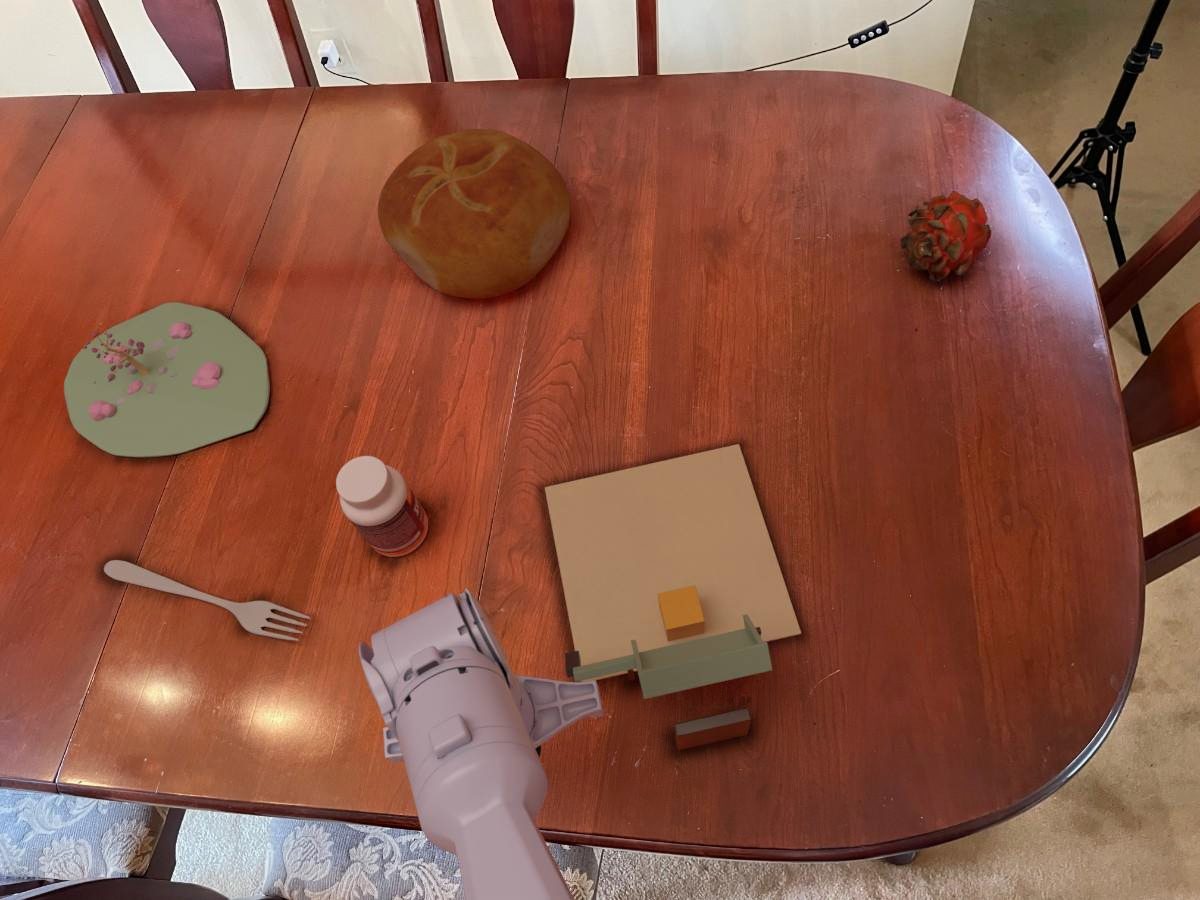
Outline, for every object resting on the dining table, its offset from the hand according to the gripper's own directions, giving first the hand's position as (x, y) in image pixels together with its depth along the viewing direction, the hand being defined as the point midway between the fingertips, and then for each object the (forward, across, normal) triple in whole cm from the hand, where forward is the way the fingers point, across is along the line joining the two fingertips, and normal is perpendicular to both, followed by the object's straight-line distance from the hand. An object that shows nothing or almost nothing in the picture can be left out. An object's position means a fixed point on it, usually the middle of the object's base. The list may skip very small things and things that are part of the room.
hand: (516, 745), depth 64 cm
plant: (+10, +34, -50) cm, 61 cm away
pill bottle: (+10, +10, -25) cm, 29 cm away
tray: (+2, -12, -4) cm, 13 cm away
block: (+7, -15, -8) cm, 18 cm away
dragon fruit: (+10, -53, -44) cm, 70 cm away
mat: (+9, -15, -16) cm, 24 cm away
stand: (+9, -15, -2) cm, 18 cm away
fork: (+10, +30, -22) cm, 38 cm away
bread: (+10, -3, -62) cm, 63 cm away
